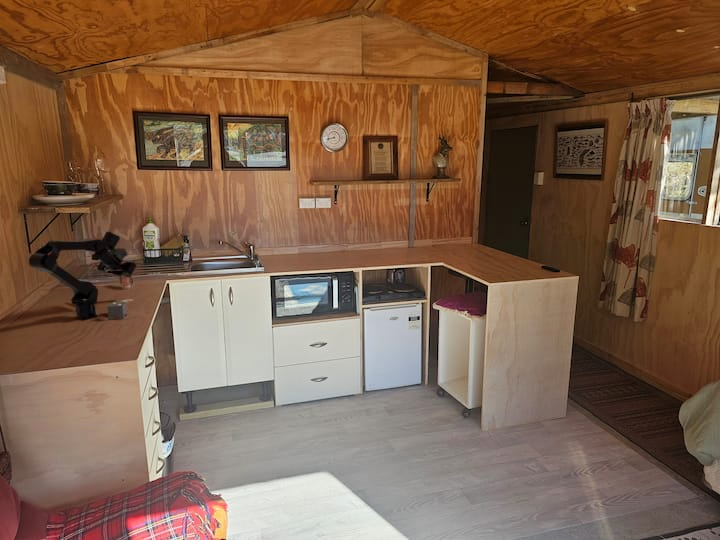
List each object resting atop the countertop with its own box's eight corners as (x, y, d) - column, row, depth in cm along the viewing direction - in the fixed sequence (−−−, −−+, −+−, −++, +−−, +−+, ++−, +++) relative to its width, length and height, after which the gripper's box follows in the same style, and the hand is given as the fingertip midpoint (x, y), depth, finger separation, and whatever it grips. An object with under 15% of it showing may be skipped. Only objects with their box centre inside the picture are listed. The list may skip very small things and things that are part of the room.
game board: (115, 309, 231) (115, 306, 231) (105, 308, 233) (105, 305, 233) (136, 302, 243) (136, 299, 243) (126, 301, 245) (126, 298, 245)
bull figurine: (123, 284, 277) (122, 270, 275) (136, 288, 268) (134, 273, 267) (116, 286, 273) (114, 271, 272) (128, 290, 265) (126, 275, 263)
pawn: (124, 289, 237) (122, 266, 235) (120, 288, 240) (118, 265, 237) (132, 287, 241) (130, 264, 238) (127, 286, 243) (125, 263, 240)
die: (123, 319, 218) (122, 305, 216) (108, 319, 216) (107, 305, 215) (127, 315, 223) (125, 301, 222) (112, 315, 222) (111, 302, 221)
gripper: (131, 244, 229) (151, 264, 241) (99, 242, 235) (120, 261, 247) (120, 265, 223) (140, 283, 236) (87, 262, 229) (109, 280, 242)
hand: (127, 276), depth 240 cm, fingers closed on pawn, 3 cm apart
